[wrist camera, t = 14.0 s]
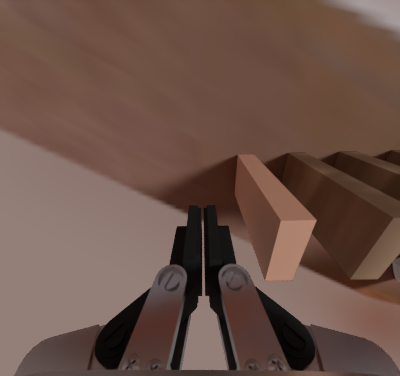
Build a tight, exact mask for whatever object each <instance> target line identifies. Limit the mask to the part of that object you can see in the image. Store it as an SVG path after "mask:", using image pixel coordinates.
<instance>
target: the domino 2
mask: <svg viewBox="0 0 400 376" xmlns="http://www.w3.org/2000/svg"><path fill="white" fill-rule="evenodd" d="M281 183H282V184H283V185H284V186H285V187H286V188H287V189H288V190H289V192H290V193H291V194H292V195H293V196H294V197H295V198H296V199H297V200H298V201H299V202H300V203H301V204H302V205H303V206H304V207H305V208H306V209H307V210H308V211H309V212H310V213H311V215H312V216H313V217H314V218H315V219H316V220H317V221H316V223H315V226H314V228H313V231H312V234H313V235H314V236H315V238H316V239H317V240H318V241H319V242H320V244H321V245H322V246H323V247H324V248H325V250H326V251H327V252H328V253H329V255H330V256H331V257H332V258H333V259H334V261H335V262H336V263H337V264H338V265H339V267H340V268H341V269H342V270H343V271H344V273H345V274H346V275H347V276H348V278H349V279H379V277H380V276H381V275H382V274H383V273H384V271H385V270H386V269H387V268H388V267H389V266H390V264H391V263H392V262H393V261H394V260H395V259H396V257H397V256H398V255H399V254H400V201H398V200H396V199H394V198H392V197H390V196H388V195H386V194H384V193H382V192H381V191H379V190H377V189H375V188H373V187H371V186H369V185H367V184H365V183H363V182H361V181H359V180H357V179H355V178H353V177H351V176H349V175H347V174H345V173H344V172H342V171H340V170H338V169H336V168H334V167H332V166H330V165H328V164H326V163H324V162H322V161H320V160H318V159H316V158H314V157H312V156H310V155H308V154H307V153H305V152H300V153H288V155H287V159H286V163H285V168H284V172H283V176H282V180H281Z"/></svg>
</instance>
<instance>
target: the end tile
mask: <svg viewBox="0 0 400 376" xmlns="http://www.w3.org/2000/svg"><path fill="white" fill-rule="evenodd" d="M235 196H236V199H237V202H238V205H239V208H240V211H241V214H242V216H243V219H244V222H245V225H246V228H247V231H248V234H249V236H250V239H251V242H252V245H253V248H254V250H255V253H256V256H257V259H258V262H259V265H260V268H261V271H262V274H263V276H264V279H265V281H285V280H287V281H288V280H293V278H294V275H295V273H296V270H297V268H298V265H299V263H300V260H301V258H302V255H303V253H304V250H305V248H306V245H307V243H308V240H309V238H310V235H311V233H312V231H313V228H314V226H315V223H316V221H317V220H316V219H315V218H314V217H313V216H312V215H311V213H310V212H309V211H308V210H307V209H306V208H305V207H304V206H303V205H302V204H301V203H300V202H299V201H298V200H297V199H296V198H295V197H294V196H293V195H292V194H291V193H290V192H289V190H288V189H287V188H286V187H285V186H284V185H283V184H282V183H281V182H280V181H279V180H278V179H277V178H276V177H275V176H274V175H273V174H272V173H271V172H270V171H269V170H268V169H267V168H266V166H265V165H264V164H263V163H262V162H261V161H260V160H259V159H258V158H257V157H256V156H255V155H254V154H246V155H238V158H237V170H236V183H235Z"/></svg>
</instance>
